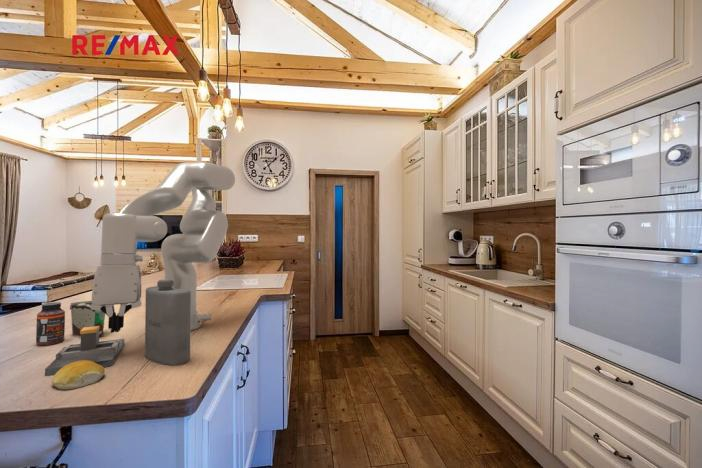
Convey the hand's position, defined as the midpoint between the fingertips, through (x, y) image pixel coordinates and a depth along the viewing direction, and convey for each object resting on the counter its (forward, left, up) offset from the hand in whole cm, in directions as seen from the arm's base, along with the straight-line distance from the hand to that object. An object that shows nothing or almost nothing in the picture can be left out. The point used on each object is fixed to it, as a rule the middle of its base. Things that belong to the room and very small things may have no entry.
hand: (115, 330), depth 82 cm
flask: (-12, +8, -7) cm, 15 cm away
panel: (+5, -1, -6) cm, 8 cm away
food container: (+9, -24, -7) cm, 26 cm away
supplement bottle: (+18, -20, -7) cm, 28 cm away
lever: (+5, -1, -5) cm, 7 cm away
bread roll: (+4, +14, -7) cm, 16 cm away
